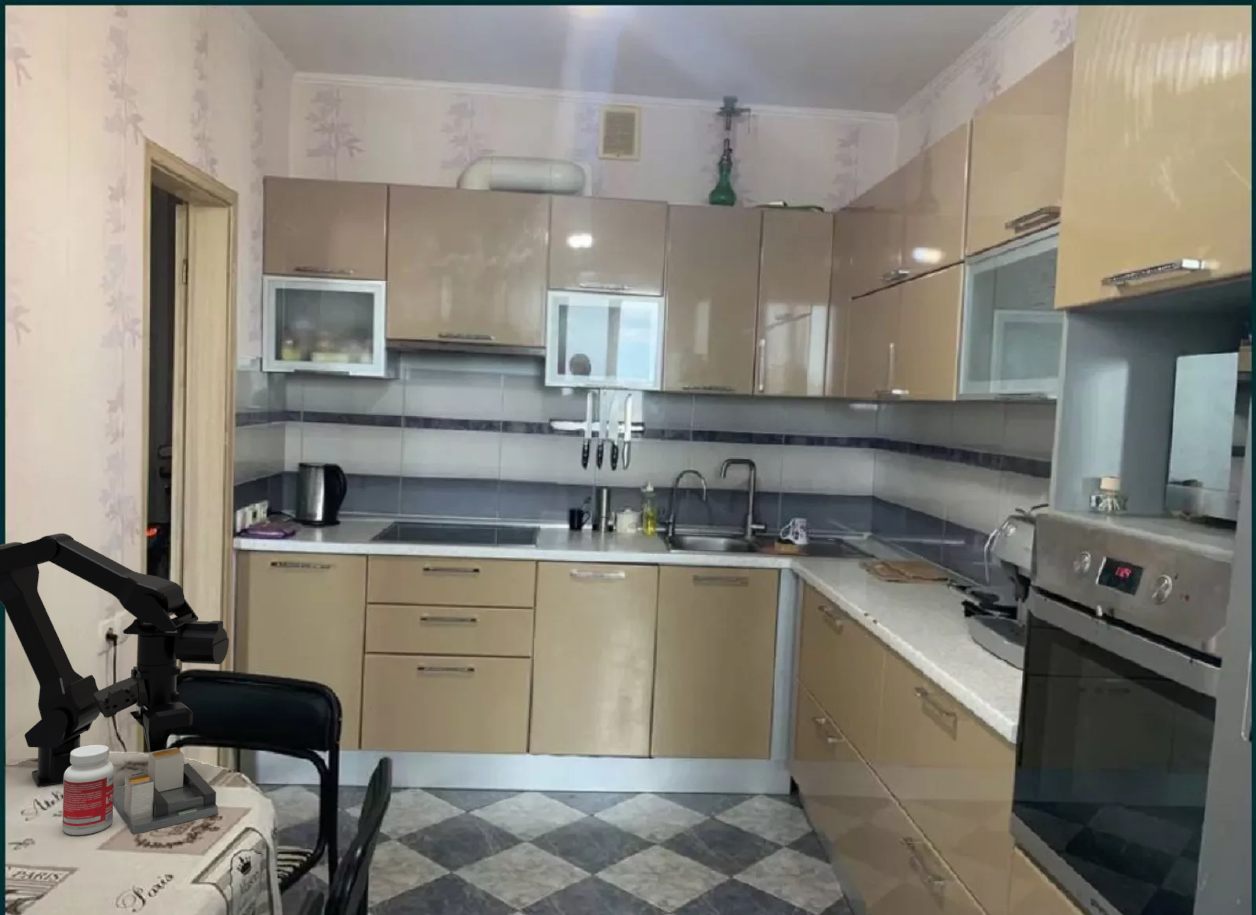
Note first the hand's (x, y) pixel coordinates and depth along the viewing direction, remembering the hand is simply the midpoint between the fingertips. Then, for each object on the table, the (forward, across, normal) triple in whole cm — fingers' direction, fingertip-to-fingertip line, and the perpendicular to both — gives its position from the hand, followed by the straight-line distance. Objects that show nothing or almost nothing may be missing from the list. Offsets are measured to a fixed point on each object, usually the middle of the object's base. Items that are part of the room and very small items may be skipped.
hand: (154, 757), depth 142 cm
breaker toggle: (+2, +6, 0) cm, 7 cm away
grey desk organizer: (+4, +11, -1) cm, 11 cm away
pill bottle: (+4, +12, -12) cm, 17 cm away
